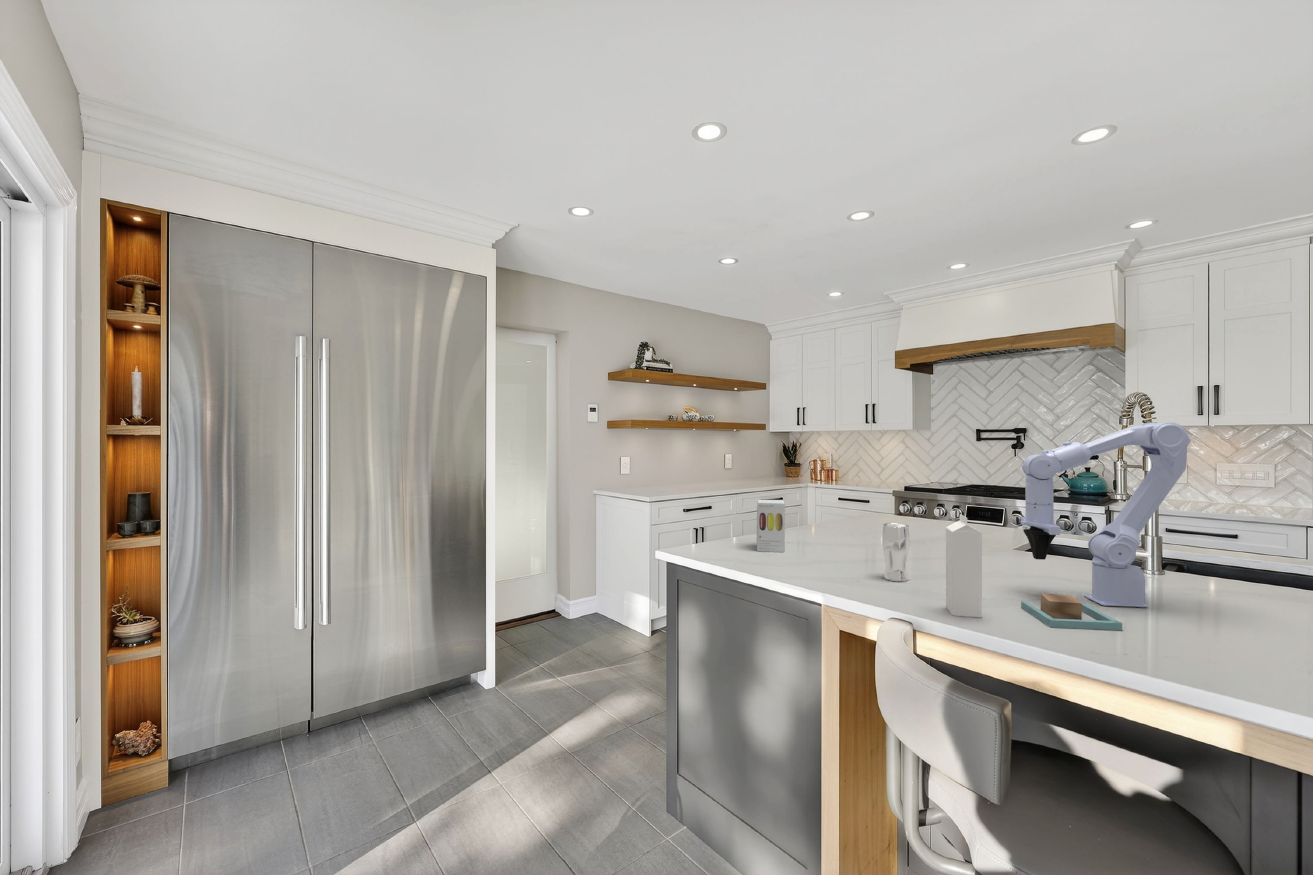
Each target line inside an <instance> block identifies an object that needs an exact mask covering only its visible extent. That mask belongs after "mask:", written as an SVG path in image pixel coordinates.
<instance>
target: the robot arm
mask: <svg viewBox="0 0 1313 875" xmlns="http://www.w3.org/2000/svg"><path fill="white" fill-rule="evenodd" d="M1190 443H1191V438H1190V436H1189V435H1188V433H1187V431H1186V430H1185V428H1184V427H1183V426H1182V425H1181V424H1179V423H1176V422H1170V421H1168V422H1167V421H1166V422H1153V421H1152V422H1145V423H1142V424H1139V425H1133V426H1129V427H1125V428H1123V429H1120V430H1118V431H1115V432H1112V433H1109V434H1107V435H1104V436H1102V437H1099V438H1097V439H1094V440H1092V441H1089V442H1086V443H1082V442H1078V441H1072V442H1071V441H1068V440H1067V441H1065V442H1063V443H1062V444H1063V445H1061V446H1058V447H1056V448H1052V449H1043V450H1042V454H1032V455H1029V456H1028V457H1026V459H1024V461H1023V464H1022V465H1021V469H1022V471H1023V474H1025V488H1024V489H1025V516H1020V525H1022V526H1027V527H1029V528H1024V529H1023V530H1022V531H1023V533H1024V535H1025V536H1026V539H1027V540H1028V543H1029V546H1030V549H1031V553H1032V557H1033V559H1035V560H1046V559H1047V556H1048V552H1049V548H1050V546H1051V543H1052V542H1053V540H1054V539H1055V537H1056V536H1060V535H1061V526H1059V525H1057V524H1056V523H1055V522H1054V521H1055V520H1054V513H1055V512H1054V511H1055V510H1054V477H1055V476H1056V475H1057V473H1058V474H1059V473H1064V472H1066V471H1068V470H1069V471H1070V470H1071V469H1074V468H1078V467H1080V466H1084V465H1087V464H1088V463H1089V461H1090V459H1091V458H1092V457H1093V456H1097V455H1099V454H1104V453H1108V452H1110V451H1114V450H1117V449H1120V448H1123V447H1127V446H1139V447H1140V448H1141V449H1142V450H1143V451H1144V452H1145V453H1146V454H1147V456H1148V458H1149V460H1150V462H1151V464H1152V467H1151V468H1150V469H1149V471H1148V472H1147V473H1146V475H1145V476H1144V478H1143V479H1142V480H1141V482H1140V484H1139V485H1138V486H1137V488H1136V489H1135V490H1134V492H1133V494H1132V495H1131V496H1130V498H1128V500H1127V502H1126V503H1125V505H1124V506H1123V508H1122V509H1121V511H1120V512H1119V513H1118V515H1117V516H1116V517H1115V519H1113V522H1110V523H1109V524H1106V525H1104V527H1103V528H1102V530H1100V532H1098V533H1096V534H1094V535H1093V536H1090V538H1089V541H1088V543H1087V548H1088V550H1089V552H1090V553H1091V555H1092V556H1093V558H1092V560H1091V593H1089V594H1088V593H1084V594H1083V597H1085V598H1087V599H1089V600H1091V601H1093V602H1095V603H1097V604H1098V605H1101V606H1105V607H1138V608H1148V604H1146V576H1145V573H1144V571H1143V569H1142V568H1140V567H1139V566H1138V565H1132V564H1133V562H1134V561H1135V559H1136V554H1137V549H1138V547H1139V546H1140V544H1141V539H1140V533H1141V532H1142V530H1143V529H1144V528H1145V526H1146V525H1147V523H1149V521H1150V520H1151V518H1152V517H1153V515H1154V514H1155V512H1156V511H1157V510H1158V508H1159V507H1160V506H1161V504H1162V503H1163V502H1164V500H1165V498H1167V495H1169V493H1170V492H1171V490H1172V489H1173V488H1174V486H1175V485H1176V483H1178V481H1179V480H1180V478H1181V477H1182V475H1183V474H1184V472H1185V471H1186V469H1187V465H1188V464H1187V458H1188V447H1189V444H1190Z"/></svg>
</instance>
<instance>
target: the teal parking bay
mask: <svg viewBox="0 0 1313 875" xmlns="http://www.w3.org/2000/svg"><path fill="white" fill-rule="evenodd" d="M1081 603H1082V602H1081ZM1020 606H1021V607H1020V608H1021V609H1023V610H1024V611H1025V612H1027V613H1029V614H1030V615H1031V616H1033V617H1035V619H1036V620H1037V619H1038V620H1039V621H1041V622H1042V623H1043V624H1045V625H1046V626H1048V627H1049V628H1053V629H1054V628H1057V629H1079V630H1080V629H1081V630H1103V631H1105V630H1106V631H1123V622H1121V621H1118V620H1117V619H1115V618H1113V617H1111V616H1109V615H1108V614H1107V613H1104V612H1102V611H1100V610H1098V609H1096V608H1095V607H1093V606H1091V605H1089V604H1087V603H1082V613H1084V614H1086V615H1088V616H1089V617H1091V618H1093V619H1082V620H1075V619H1054V618H1052V617H1050V616H1049V615H1047V614H1046V613H1044V612H1043V611H1041V609H1039V608H1038V607H1036V606H1035V605H1033V604H1031V602H1028V601H1026V600H1025V601H1023V600H1022V601H1021V602H1020Z"/></svg>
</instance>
